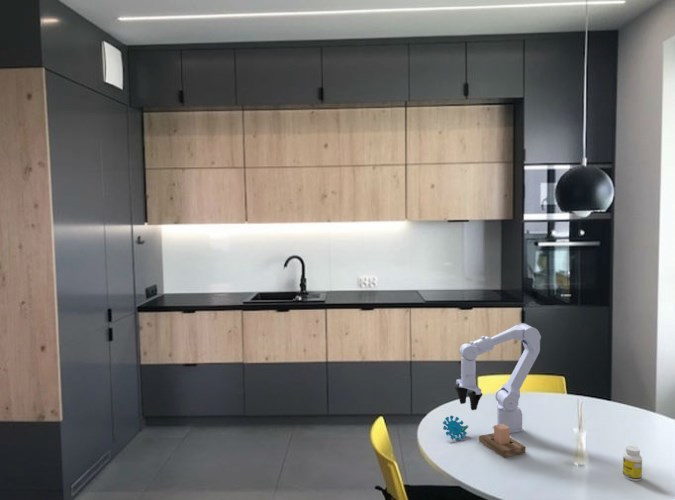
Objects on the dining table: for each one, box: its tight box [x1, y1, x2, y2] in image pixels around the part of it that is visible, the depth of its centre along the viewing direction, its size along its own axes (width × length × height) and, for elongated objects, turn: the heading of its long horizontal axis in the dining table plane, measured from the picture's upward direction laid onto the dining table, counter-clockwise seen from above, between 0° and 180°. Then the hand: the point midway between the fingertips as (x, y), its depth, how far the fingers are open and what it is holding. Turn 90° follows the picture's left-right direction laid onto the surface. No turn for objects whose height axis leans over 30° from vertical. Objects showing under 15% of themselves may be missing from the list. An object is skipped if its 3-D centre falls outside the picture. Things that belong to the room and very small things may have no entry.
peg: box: [493, 424, 511, 445], centre depth 190 cm, size 4×4×8 cm
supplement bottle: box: [622, 445, 643, 482], centre depth 166 cm, size 5×5×10 cm
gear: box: [442, 415, 469, 442], centre depth 201 cm, size 11×6×10 cm
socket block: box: [479, 432, 527, 459], centre depth 190 cm, size 10×14×2 cm
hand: (468, 406), depth 205 cm, fingers open, 7 cm apart
